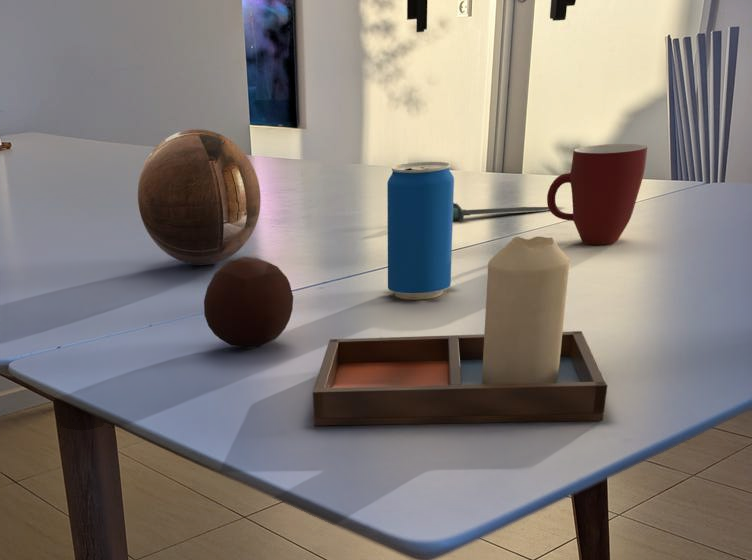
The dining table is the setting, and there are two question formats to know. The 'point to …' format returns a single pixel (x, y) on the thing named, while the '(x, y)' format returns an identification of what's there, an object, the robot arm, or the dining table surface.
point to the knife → (491, 211)
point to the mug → (602, 190)
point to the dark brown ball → (248, 302)
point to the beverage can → (420, 229)
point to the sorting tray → (448, 384)
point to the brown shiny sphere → (199, 197)
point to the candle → (525, 312)
